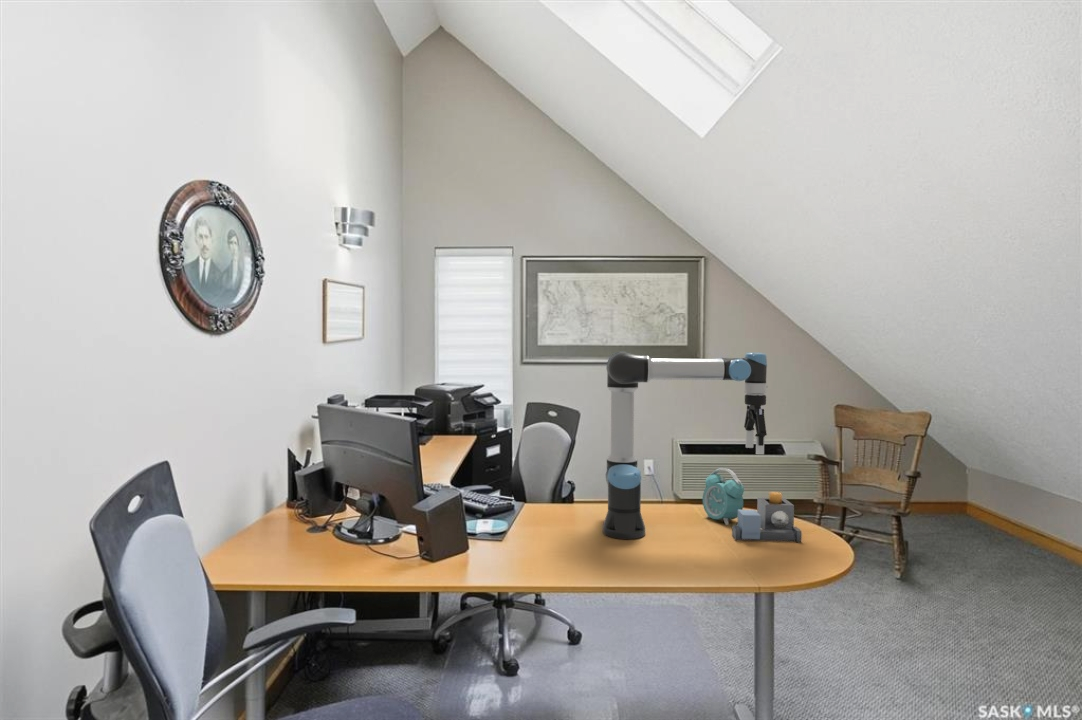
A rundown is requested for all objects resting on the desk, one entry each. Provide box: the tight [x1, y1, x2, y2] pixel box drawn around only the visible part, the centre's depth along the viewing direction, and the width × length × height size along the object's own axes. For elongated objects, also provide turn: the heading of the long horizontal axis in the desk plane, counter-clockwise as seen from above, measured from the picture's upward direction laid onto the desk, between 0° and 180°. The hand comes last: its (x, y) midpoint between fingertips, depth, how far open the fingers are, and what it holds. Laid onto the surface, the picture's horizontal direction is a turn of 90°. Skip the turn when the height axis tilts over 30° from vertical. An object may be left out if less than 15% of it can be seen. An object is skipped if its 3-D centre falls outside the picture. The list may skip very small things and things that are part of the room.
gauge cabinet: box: [756, 497, 795, 530], centre depth 220 cm, size 10×11×10 cm
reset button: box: [768, 491, 783, 504], centre depth 220 cm, size 4×4×4 cm
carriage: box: [736, 509, 762, 539], centre depth 208 cm, size 6×7×8 cm
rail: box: [731, 524, 802, 544], centre depth 207 cm, size 22×5×4 cm, turn 86°
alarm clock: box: [702, 467, 745, 526], centre depth 230 cm, size 17×10×20 cm, turn 25°
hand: (754, 450), depth 223 cm, fingers open, 13 cm apart
